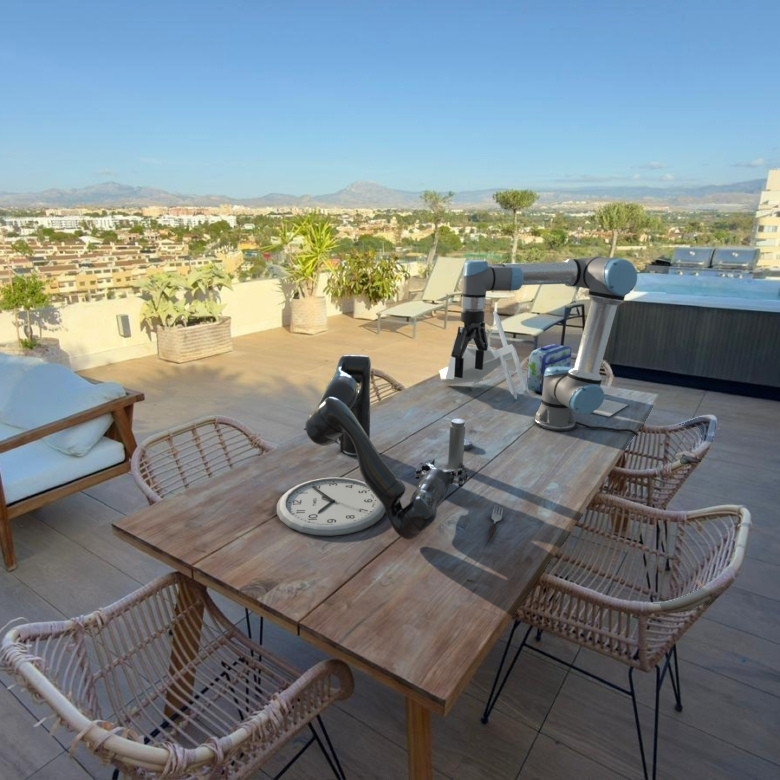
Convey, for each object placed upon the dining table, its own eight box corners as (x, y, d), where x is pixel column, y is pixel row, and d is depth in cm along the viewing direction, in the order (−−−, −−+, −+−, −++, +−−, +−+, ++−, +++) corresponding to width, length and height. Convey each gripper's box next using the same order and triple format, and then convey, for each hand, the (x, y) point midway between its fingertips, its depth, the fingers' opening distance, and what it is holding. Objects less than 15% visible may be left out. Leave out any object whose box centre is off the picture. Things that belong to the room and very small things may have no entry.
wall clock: (392, 527, 129) (268, 531, 127) (391, 533, 130) (269, 537, 127) (383, 473, 158) (282, 475, 155) (383, 478, 158) (282, 480, 156)
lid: (459, 441, 187) (459, 437, 186) (474, 445, 184) (474, 440, 183) (452, 447, 182) (452, 442, 181) (468, 451, 179) (468, 446, 179)
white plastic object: (461, 429, 252) (437, 405, 227) (444, 352, 274) (420, 323, 250) (535, 404, 240) (518, 377, 215) (510, 326, 262) (492, 293, 237)
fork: (482, 542, 127) (483, 535, 126) (493, 511, 141) (494, 504, 140) (493, 545, 126) (494, 538, 125) (503, 513, 140) (503, 506, 140)
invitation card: (608, 416, 214) (573, 407, 224) (608, 416, 214) (573, 408, 224) (628, 404, 229) (594, 396, 238) (628, 405, 229) (594, 397, 238)
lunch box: (543, 396, 238) (548, 352, 231) (522, 391, 245) (526, 347, 239) (570, 385, 255) (575, 343, 249) (550, 381, 262) (555, 340, 256)
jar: (464, 470, 165) (467, 423, 160) (449, 471, 164) (452, 423, 159) (460, 464, 169) (463, 418, 164) (446, 464, 169) (449, 418, 164)
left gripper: (406, 495, 143) (423, 471, 158) (457, 505, 139) (470, 479, 153) (407, 471, 141) (424, 448, 155) (459, 480, 136) (472, 456, 151)
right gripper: (481, 304, 180) (477, 364, 187) (442, 312, 161) (439, 378, 168) (501, 306, 176) (496, 367, 182) (463, 315, 157) (459, 383, 163)
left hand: (447, 463), depth 154 cm, fingers open, 8 cm apart
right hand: (468, 373), depth 175 cm, fingers open, 13 cm apart
